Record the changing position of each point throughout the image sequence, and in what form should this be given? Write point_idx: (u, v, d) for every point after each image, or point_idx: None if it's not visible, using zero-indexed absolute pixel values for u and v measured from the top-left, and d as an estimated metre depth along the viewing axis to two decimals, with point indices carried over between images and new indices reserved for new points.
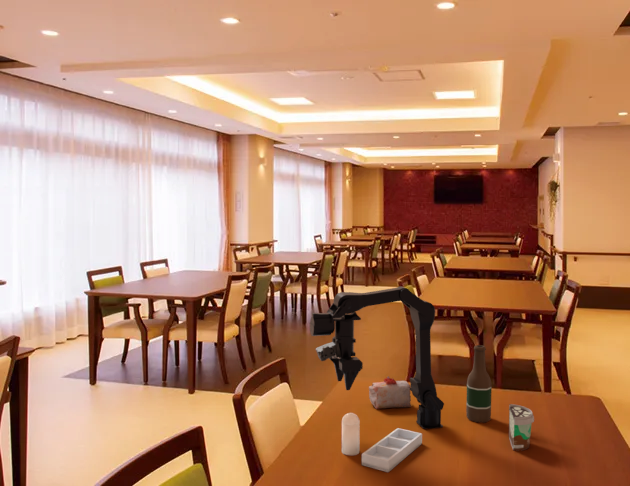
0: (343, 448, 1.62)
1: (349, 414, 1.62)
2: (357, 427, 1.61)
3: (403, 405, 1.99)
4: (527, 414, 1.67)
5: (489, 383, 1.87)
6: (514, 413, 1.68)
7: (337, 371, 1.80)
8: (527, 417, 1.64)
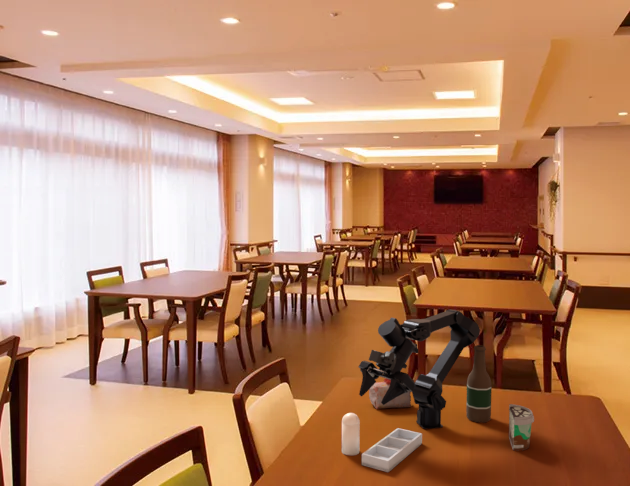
0: (343, 448, 1.62)
1: (349, 414, 1.62)
2: (357, 427, 1.61)
3: (403, 405, 1.99)
4: (527, 414, 1.67)
5: (489, 383, 1.87)
6: (514, 413, 1.68)
7: (364, 385, 1.72)
8: (527, 417, 1.64)
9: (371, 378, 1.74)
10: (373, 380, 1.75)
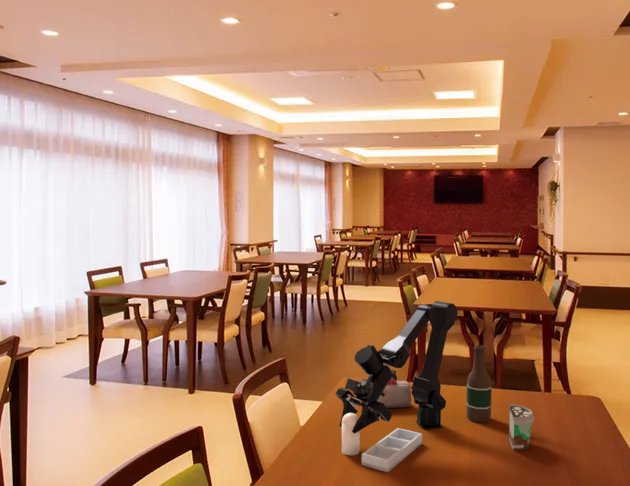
0: (343, 448, 1.62)
1: (349, 414, 1.62)
2: None
3: (403, 406, 1.99)
4: (527, 414, 1.67)
5: (489, 383, 1.87)
6: (514, 413, 1.68)
7: None
8: (527, 417, 1.64)
9: (352, 408, 1.67)
10: (354, 410, 1.68)
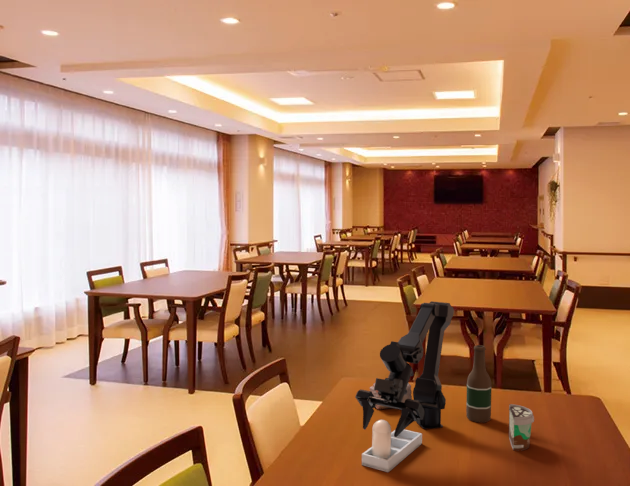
0: None
1: (381, 421, 1.54)
2: (390, 434, 1.54)
3: None
4: (527, 414, 1.67)
5: (489, 383, 1.87)
6: (514, 413, 1.68)
7: (366, 417, 1.58)
8: (527, 417, 1.64)
9: (371, 408, 1.61)
10: (372, 410, 1.61)
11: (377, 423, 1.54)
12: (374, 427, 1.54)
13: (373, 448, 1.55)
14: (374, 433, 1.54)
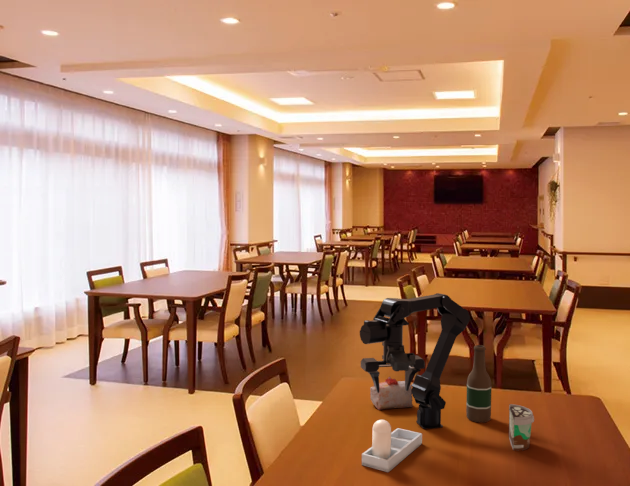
0: None
1: (381, 421, 1.54)
2: (390, 434, 1.54)
3: (405, 406, 1.99)
4: (527, 414, 1.67)
5: (489, 383, 1.87)
6: (514, 413, 1.68)
7: None
8: (527, 417, 1.64)
9: None
10: None
11: (377, 423, 1.54)
12: (374, 427, 1.54)
13: (373, 448, 1.55)
14: (374, 433, 1.54)
